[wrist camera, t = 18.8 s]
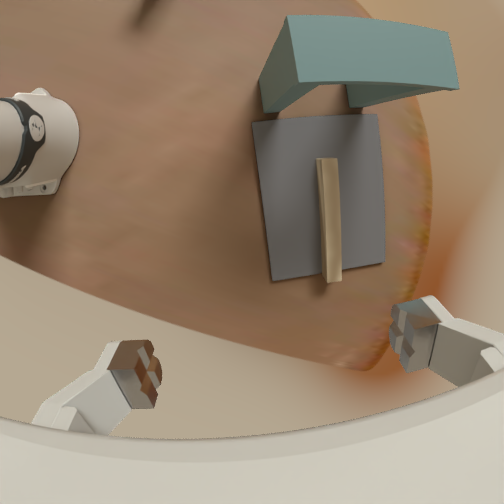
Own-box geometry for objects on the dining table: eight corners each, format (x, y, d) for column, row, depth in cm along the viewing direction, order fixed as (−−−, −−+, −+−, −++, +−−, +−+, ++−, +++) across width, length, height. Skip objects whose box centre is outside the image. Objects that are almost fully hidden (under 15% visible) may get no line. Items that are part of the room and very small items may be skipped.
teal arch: (263, 114, 44) (298, 82, 21) (258, 77, 42) (287, 15, 19) (363, 108, 45) (459, 89, 22) (357, 73, 43) (447, 32, 20)
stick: (322, 275, 52) (327, 282, 49) (315, 158, 46) (321, 159, 43) (335, 273, 52) (341, 280, 49) (330, 157, 46) (337, 158, 43)
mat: (272, 279, 52) (272, 281, 52) (251, 122, 44) (251, 122, 44) (383, 260, 53) (385, 261, 52) (374, 114, 45) (377, 114, 44)
